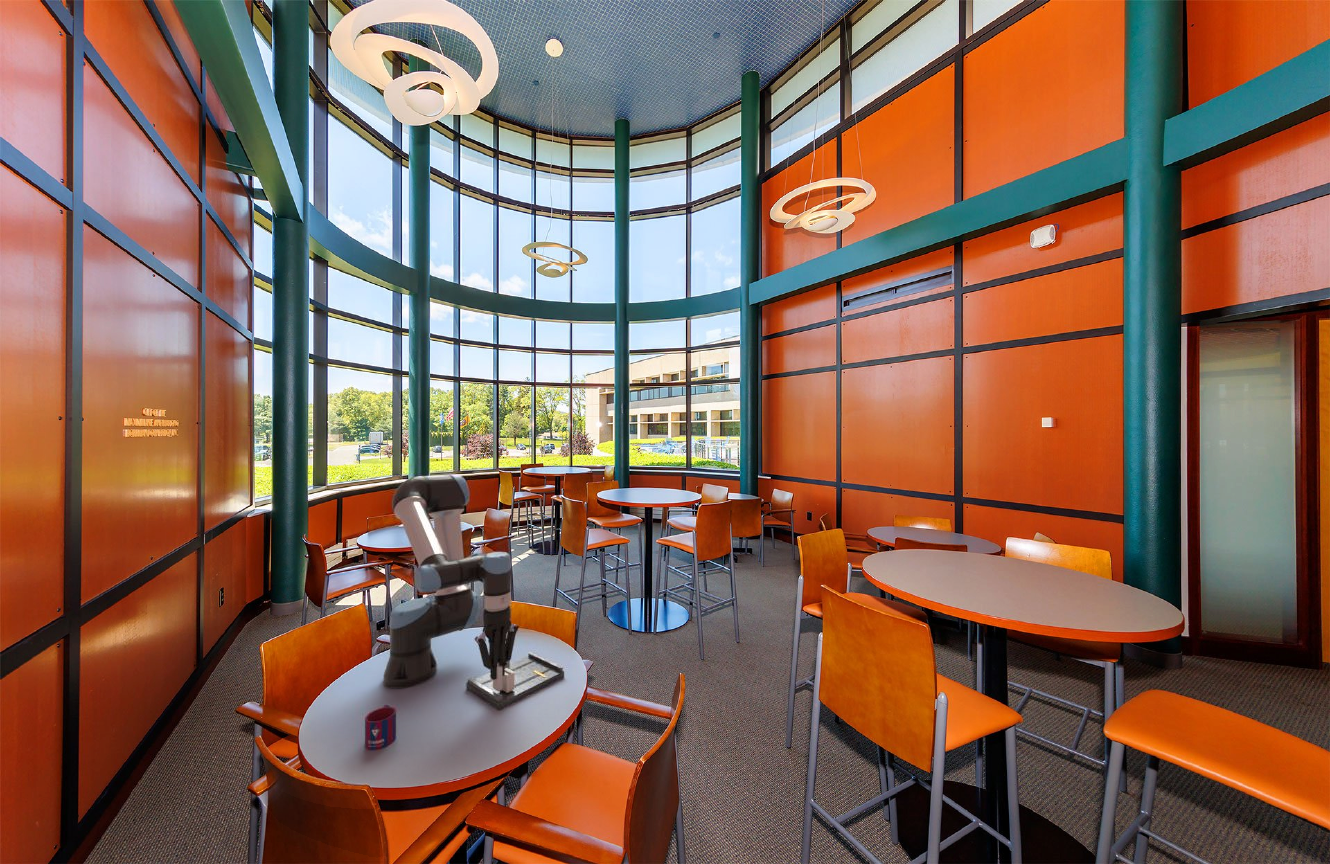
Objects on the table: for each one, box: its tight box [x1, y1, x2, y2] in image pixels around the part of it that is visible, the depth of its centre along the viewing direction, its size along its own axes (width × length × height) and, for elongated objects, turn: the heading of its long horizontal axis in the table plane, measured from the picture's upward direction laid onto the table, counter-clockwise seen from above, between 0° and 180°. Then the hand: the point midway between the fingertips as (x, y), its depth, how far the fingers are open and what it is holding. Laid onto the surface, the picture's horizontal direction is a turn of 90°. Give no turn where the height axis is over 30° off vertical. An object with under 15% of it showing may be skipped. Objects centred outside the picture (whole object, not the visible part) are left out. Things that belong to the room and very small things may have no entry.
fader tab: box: [502, 668, 515, 693], centre depth 137 cm, size 4×2×5 cm, turn 51°
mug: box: [364, 704, 397, 751], centre depth 119 cm, size 7×10×7 cm
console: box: [465, 651, 565, 711], centre depth 145 cm, size 18×23×7 cm
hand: (497, 688), depth 135 cm, fingers closed
